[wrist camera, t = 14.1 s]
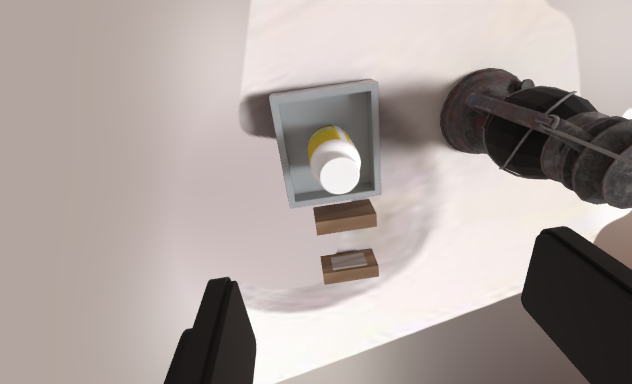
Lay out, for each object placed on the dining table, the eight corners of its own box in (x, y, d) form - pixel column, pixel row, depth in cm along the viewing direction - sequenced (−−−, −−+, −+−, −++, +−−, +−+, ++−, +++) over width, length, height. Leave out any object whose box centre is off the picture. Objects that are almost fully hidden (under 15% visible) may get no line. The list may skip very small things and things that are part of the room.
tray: (270, 93, 36) (268, 97, 33) (371, 79, 36) (378, 82, 33) (289, 197, 42) (289, 208, 39) (375, 185, 42) (381, 194, 39)
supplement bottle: (300, 155, 38) (303, 189, 30) (317, 116, 36) (326, 140, 28) (338, 170, 40) (351, 207, 31) (357, 133, 38) (377, 161, 29)
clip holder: (313, 207, 43) (315, 222, 39) (369, 199, 43) (376, 213, 39) (322, 266, 48) (324, 284, 44) (372, 258, 48) (378, 276, 44)
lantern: (545, 97, 38) (1128, 230, 12) (488, 167, 42) (830, 387, 16) (472, 46, 35) (1062, 69, 8) (418, 127, 39) (702, 321, 12)
